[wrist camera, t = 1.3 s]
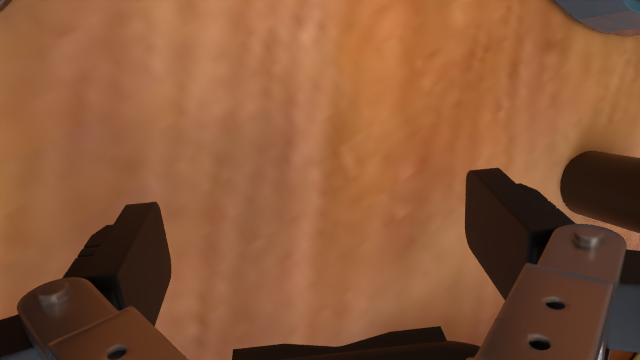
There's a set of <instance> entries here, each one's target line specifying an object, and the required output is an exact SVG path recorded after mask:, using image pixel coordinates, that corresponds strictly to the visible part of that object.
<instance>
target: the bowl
mask: <svg viewBox="0 0 640 360" xmlns="http://www.w3.org/2000/svg"><path fill="white" fill-rule="evenodd" d="M554 1H555V2H556V3H558V4H559V5H560V6H561V7H562V8H563V9H564V10H565V11H566V12H567V13H568V14H570V15H571V16H572V17H573V18H574V19H575V20H577V21H579V22H581V23H583V24H585V25H587V26H589V27H592V28H594V29H596V30H598V31H600V32H602V33H608V34H616V35H624V36H638V35H640V0H554Z"/></svg>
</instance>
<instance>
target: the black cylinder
mask: <svg viewBox="0 0 640 360" xmlns="http://www.w3.org/2000/svg"><path fill="white" fill-rule="evenodd" d="M561 195H562V198H563V201H564V202H565V204H566V206H567V207H568V208H569V209H570V210H571V211H573V212H574V213H577V214H580V215H583V216H586V217H589V218H592V219H595V220H599V221H602V222H605V223H608V224H611V225H615V226H618V227H621V228H624V229H627V230H630V231H634V232H637V233H640V158H637V157H630V156H623V155H616V154H609V153H603V152H596V151H589V152H585V153H582V154H580V155H578V156H577V157H575V158H574V159H573V160H572V161H571V162H570V163H569V164H568V166H567V167H566V169H565V171H564V173H563V176H562V180H561Z"/></svg>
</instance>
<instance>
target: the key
mask: <svg viewBox="0 0 640 360" xmlns="http://www.w3.org/2000/svg"><path fill="white" fill-rule="evenodd" d="M633 360H640V353H637V354H636V356H635V357H634V358H633Z"/></svg>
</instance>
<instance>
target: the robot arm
mask: <svg viewBox="0 0 640 360" xmlns="http://www.w3.org/2000/svg"><path fill="white" fill-rule="evenodd" d="M10 1H11V0H0V12H1V11H2V10H3V9H4V8H5V7H6V6H7V5H8V4H9V3H10ZM465 233H466V239H467V243H468V246H469V248H470V250H471V251H472V253H473V254H474V256H475V257H476V258H477V260H478V261H479V263H480V264H481V266H482V267H483V269H484V270H485V272H486V273H487V275H488V276H489V278H490V279H491V281H492V282H493V284H494V285H495V286H496V288H497V289H498V291H499V292H500V294H501V295H502V297H503V298H504V300H505V302H504V304H503V306H502V308H501V310H500V312H499V313H498V315H497V317H496V319H495V321H494V323H493V325H492V326H491V328H490V330H489V332H488V334H487V336H486V338H485V339H484V341H483V343H482V345H481V347H480V346H477V345H472V344H468V343H463V342H456V341H447V340H446V338H445V336H444V333H443V331H442V329H441V327H440V326H438V327H429V328H420V329H412V330H403V331H394V332H388V333H385V334H381V335H378V336H375V337H371V338H368V339H365V340H361V341H358V342H355V343H351V344H348V345H344V346H339V347H329V346H313V345H297V344H278V345H269V346H260V347H251V348H242V349H233V356H232V360H609V358H610V351H611V350H619V351H628V352H638V353H640V251H635V250H627V249H626V245H627V243H626V241H625V239H624V238H623V237H622V236H621V235H619V234H618V233H616V232H614V231H612V230H609V229H607V228H603V227H600V226H595V225H588V224H576V223H574V222H573V221H572V220H571V219H570V218H569V217H567V216H566V215H565V214H564V213H563V212H562V211H561V210H559V209H558V208H557V209H556V206H555V205H554V204H552V203H551V202H550V201H548V199H547V198H546V197H544V196H543V195H542V194H541V193H540V192H539V191H537V190H535V189H533V188H530V187H528V186H526V185H523V184H521V183H520V184H516V183H515V182H514V181H512V180H511V179H510V178H509V177H508V176H507V175H506V174H505V173H504V172H503V171H502V170H500V169H499V168H490V169H480V170H470V171H469V172H468V173H467V177H466V201H465ZM170 279H171V258H170V253H169V248H168V243H167V239H166V234H165V229H164V224H163V219H162V215H161V210H160V207H159V205H158V203H157V202H149V203H139V204H129V205H126V206H125V207H124V209H123V210H122V212H121V213H120V215H119V216H118V218H117V220H116V221H115V223H114V224H113V225H106V226H105V227H103V228H102V229H100V230H99V231H98V232H96V233H95V234H93V235H92V236H91V237H90V239H89V240H88V242H87V243H86V244H85V246H84V249H82V250H81V252H80V253H79V255H78V258H76V259H75V260H74V262H73V263H72V265H71V266H70V268H69V269H68V271H67V272H66V274H65V275H64V276H63V278H62V279H58V280H54V281H51V282H48V283H45V284H43V285H40V286H38V287H36V288H35V289H33V290H31V291H30V292H28V293H27V294H26V295H24V296H23V297H22V298H21V300H20V301H19V302H18V305H17V311H18V315H15V316H12V317H9V318H5V319H2V320H0V360H188V359H187V358H186V357H185V356H184V355H183V354H182V353H181V352H180V351H179V350H178V349H177V348H176V347H175V346H174V345H173V344H172V343H171V342H170V341H169V340H168V339H167V338H166V337H165V336H164V335H162V334H161V333H160V332H159V331H158V330H157V329H156V328H155V327H154V326H155V323H156V320H157V317H158V315H159V312H160V309H161V306H162V303H163V300H164V297H165V294H166V291H167V288H168V285H169V282H170Z"/></svg>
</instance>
